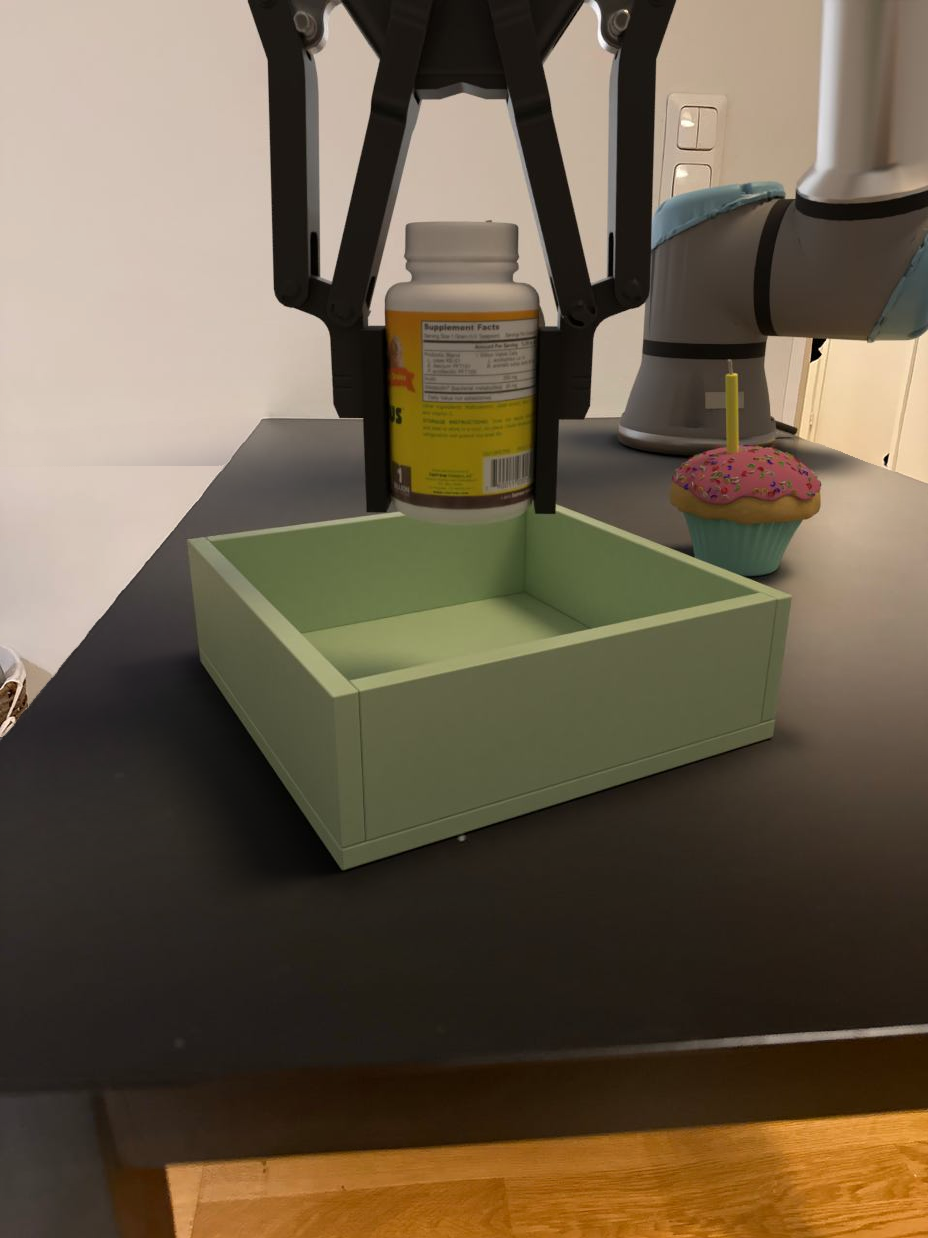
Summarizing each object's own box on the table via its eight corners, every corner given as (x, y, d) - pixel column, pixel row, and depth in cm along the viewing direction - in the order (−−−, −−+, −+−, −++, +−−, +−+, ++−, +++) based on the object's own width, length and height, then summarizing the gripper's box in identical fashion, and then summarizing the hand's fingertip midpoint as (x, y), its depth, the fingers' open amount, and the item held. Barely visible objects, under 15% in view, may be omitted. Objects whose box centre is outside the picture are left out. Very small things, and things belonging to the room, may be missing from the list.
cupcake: (730, 595, 50) (755, 368, 46) (634, 554, 57) (648, 354, 53) (842, 573, 54) (875, 361, 50) (739, 537, 61) (760, 348, 57)
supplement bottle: (405, 492, 39) (399, 226, 35) (537, 496, 38) (546, 226, 34) (375, 527, 33) (365, 220, 30) (528, 532, 33) (537, 219, 29)
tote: (528, 599, 50) (531, 493, 48) (773, 737, 35) (793, 595, 33) (200, 662, 42) (186, 539, 40) (341, 872, 27) (332, 696, 25)
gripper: (101, -335, 24) (193, 528, 32) (822, -346, 24) (727, 533, 32) (189, -200, 31) (246, 481, 39) (746, -207, 31) (685, 484, 39)
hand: (461, 503), depth 36 cm, fingers closed on supplement bottle, 6 cm apart
